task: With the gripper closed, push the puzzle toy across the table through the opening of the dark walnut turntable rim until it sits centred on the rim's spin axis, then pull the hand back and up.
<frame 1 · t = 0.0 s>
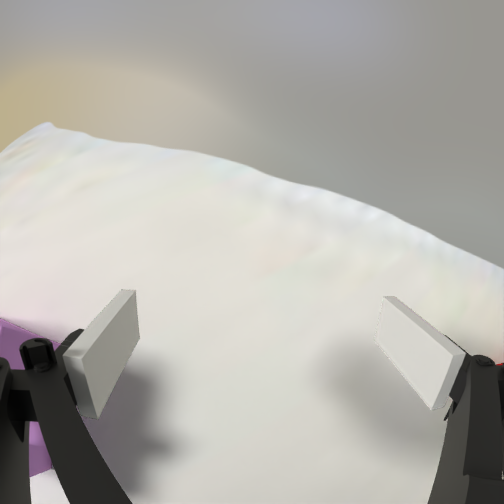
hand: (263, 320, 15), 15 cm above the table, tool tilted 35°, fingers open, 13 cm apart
purple lidded box: (9, 386, 24), on the table
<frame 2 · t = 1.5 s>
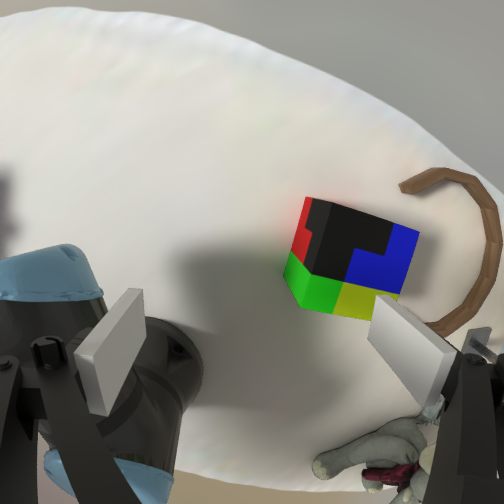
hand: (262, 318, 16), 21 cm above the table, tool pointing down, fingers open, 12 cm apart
plush elephant: (388, 439, 47), on the table
puzzle toy: (331, 246, 38), on the table
turntable rim: (452, 257, 37), point 2 cm above the table, hinge at 0.0°
dial gauge stand: (473, 342, 43), on the table
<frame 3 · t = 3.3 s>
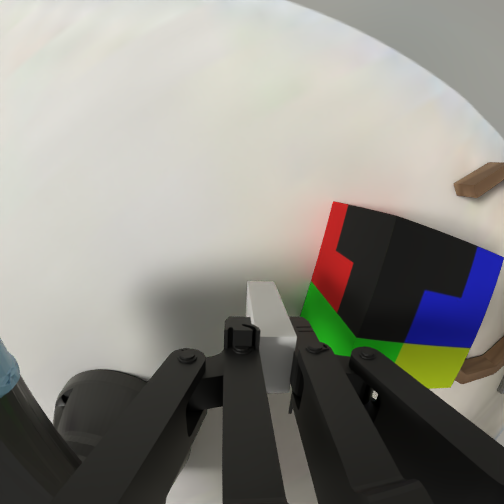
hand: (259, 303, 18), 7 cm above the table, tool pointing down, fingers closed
puzzle toy: (367, 272, 26), on the table
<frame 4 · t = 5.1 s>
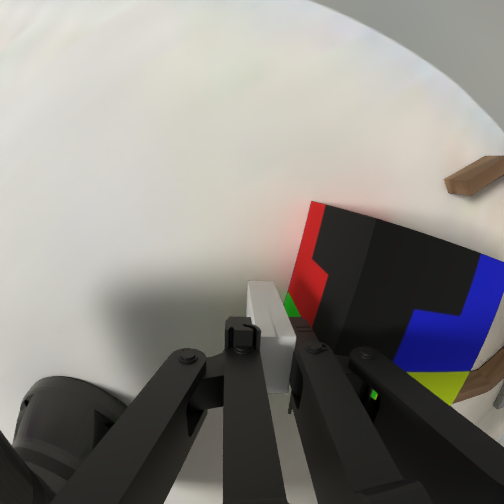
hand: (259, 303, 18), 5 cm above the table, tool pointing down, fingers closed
puzzle toy: (354, 280, 23), on the table, touching gripper
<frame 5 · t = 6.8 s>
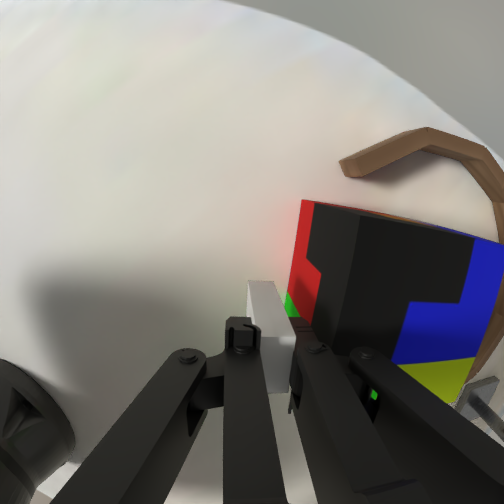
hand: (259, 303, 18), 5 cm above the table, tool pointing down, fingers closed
puzzle toy: (353, 274, 23), on the table, touching gripper
turntable rim: (445, 289, 22), point 2 cm above the table, hinge at 0.0°
dial gauge stand: (472, 399, 28), on the table
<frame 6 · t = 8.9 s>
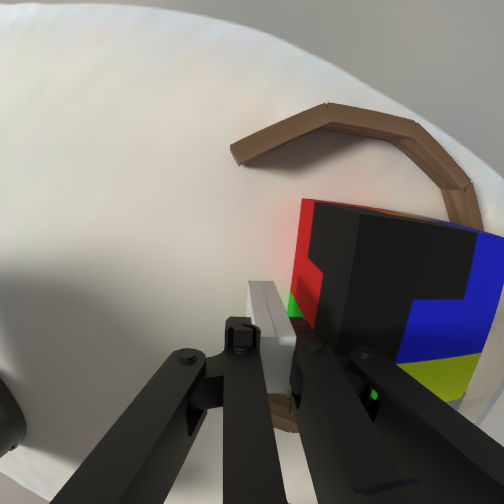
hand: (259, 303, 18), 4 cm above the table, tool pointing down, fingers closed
puzzle toy: (356, 272, 22), on the table, touching gripper
turntable rim: (371, 290, 21), point 2 cm above the table, hinge at 0.0°
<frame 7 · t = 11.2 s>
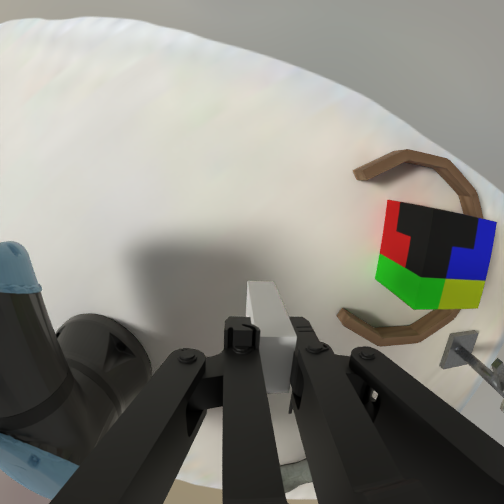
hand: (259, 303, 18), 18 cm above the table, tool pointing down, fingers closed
plush elephant: (351, 457, 45), on the table
puzzle toy: (413, 243, 36), on the table
turntable rim: (423, 252, 34), point 2 cm above the table, hinge at 0.0°
dial gauge stand: (457, 348, 40), on the table
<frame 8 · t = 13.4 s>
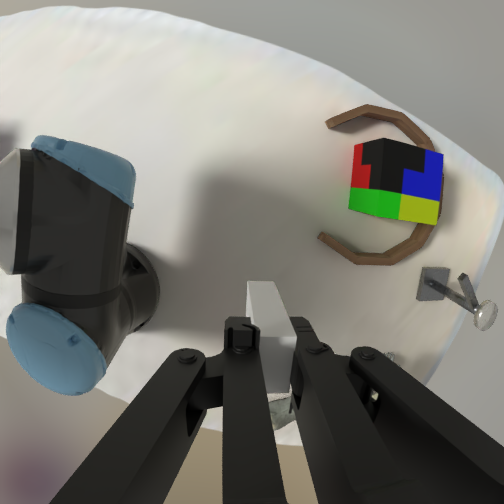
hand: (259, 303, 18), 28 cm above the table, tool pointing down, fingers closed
plush elephant: (339, 396, 54), on the table
puzzle toy: (379, 181, 45), on the table
turntable rim: (387, 186, 43), point 2 cm above the table, hinge at 0.0°
dial gauge stand: (431, 283, 49), on the table
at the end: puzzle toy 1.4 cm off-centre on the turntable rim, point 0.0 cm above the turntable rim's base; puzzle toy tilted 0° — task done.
